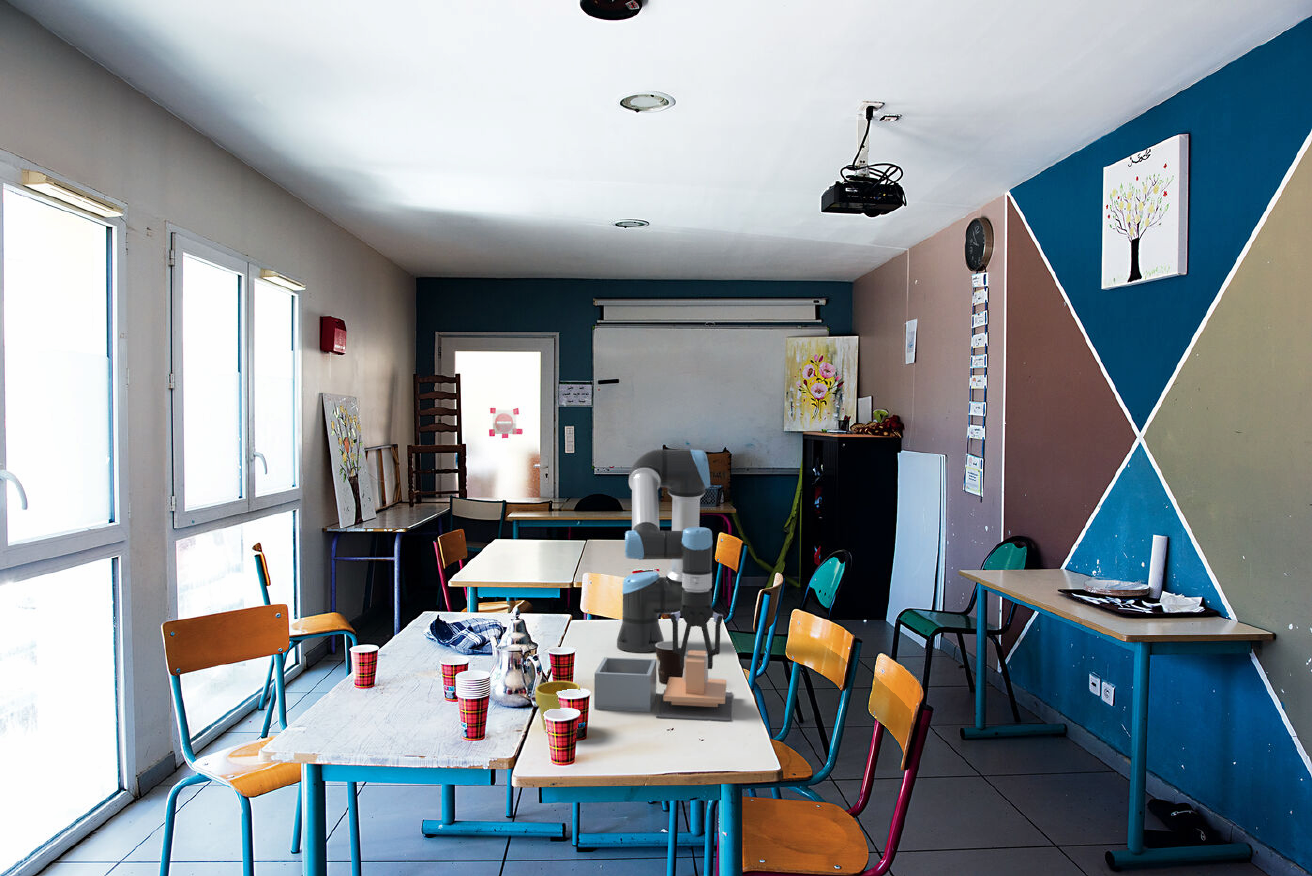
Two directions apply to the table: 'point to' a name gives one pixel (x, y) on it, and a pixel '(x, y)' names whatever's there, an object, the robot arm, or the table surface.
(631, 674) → the storage box
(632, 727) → the table surface
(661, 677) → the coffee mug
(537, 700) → the plant pot
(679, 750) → the table surface
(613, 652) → the table surface
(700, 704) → the lid
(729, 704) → the mat
